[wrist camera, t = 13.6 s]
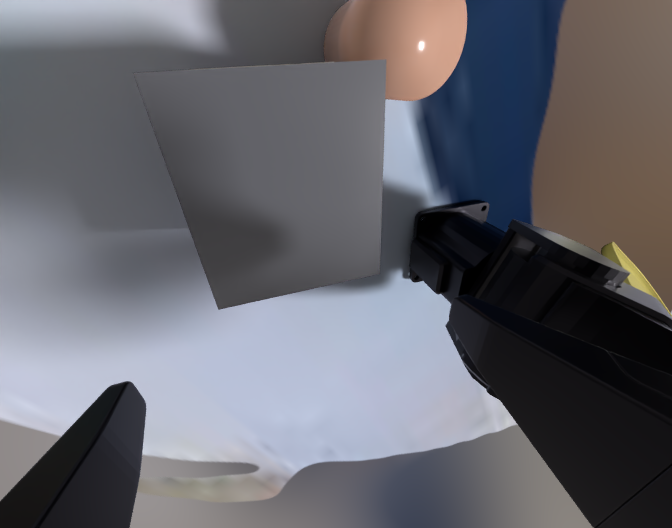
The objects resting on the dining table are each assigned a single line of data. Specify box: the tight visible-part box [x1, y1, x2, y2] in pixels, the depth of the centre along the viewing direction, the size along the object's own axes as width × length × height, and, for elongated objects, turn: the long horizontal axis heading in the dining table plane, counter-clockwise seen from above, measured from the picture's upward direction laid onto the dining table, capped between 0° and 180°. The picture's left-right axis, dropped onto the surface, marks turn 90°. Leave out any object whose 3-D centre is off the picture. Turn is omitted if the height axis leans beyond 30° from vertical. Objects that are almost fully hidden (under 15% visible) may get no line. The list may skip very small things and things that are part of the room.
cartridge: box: [324, 0, 467, 101], centre depth 14 cm, size 4×4×6 cm
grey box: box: [133, 59, 386, 310], centre depth 14 cm, size 8×9×8 cm
